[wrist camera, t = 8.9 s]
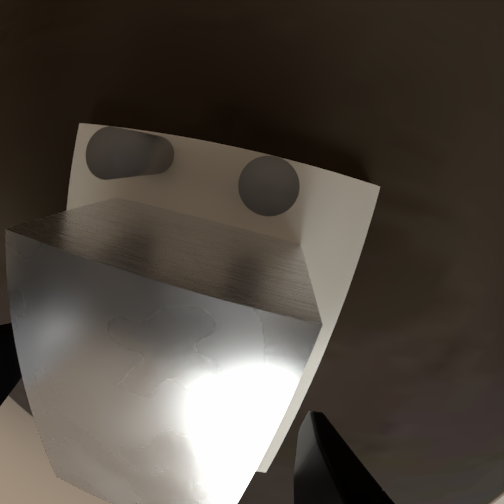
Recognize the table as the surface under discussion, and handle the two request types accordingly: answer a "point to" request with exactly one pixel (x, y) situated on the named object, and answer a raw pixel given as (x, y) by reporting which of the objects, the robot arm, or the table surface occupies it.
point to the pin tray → (237, 208)
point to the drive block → (157, 347)
